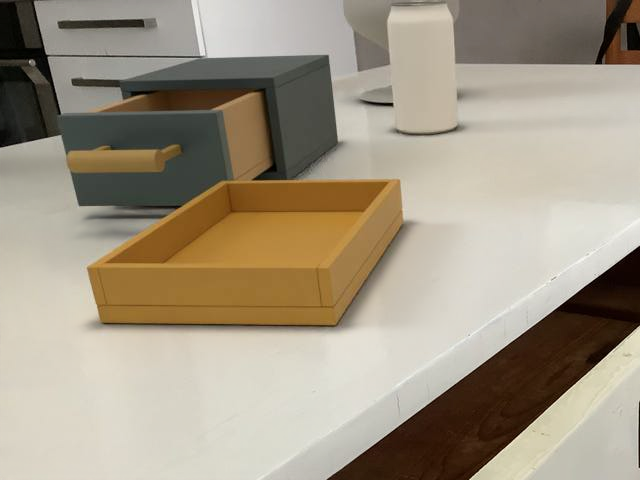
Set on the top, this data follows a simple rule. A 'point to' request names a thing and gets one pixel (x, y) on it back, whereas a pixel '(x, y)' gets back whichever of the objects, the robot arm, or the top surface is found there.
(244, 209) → the tray
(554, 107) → the top surface
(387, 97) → the chalice
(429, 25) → the can
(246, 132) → the drawer
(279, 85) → the cabinet
